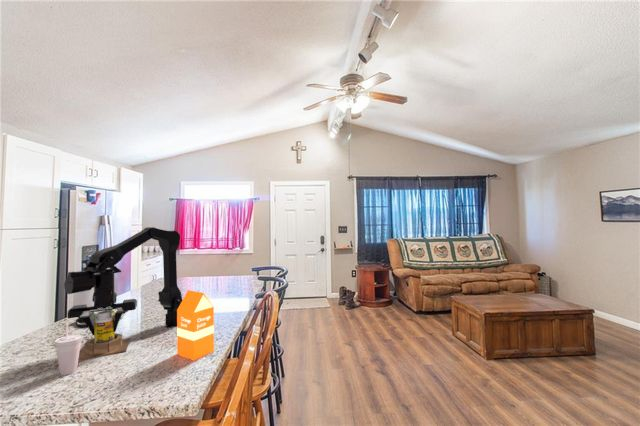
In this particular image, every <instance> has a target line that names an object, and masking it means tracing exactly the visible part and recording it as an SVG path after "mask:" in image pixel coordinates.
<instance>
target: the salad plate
mask: <svg viewBox="0 0 640 426" xmlns="http://www.w3.org/2000/svg"><path fill="white" fill-rule="evenodd" d="M105 311H111V316H113V317H114V320H115V313H116V311H117V309H113V310H105ZM128 312H129V311H126V313H128ZM123 318H124V314H122V316H121V318H120V320H121V319H123ZM95 319H97V313H94V321H95ZM75 324H76V326H77V327H78V328H89V327H88V326H87V324H86V323H85V322H84V321H83V319H79V317H77V318H76V320H75Z"/></svg>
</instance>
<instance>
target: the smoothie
mask: <svg viewBox="0 0 640 426" xmlns="http://www.w3.org/2000/svg"><path fill="white" fill-rule="evenodd" d="M83 340H84V338H83V335H82V334H80V333H79V334H78V333H77V334H69V322H66V323H65V336H62V337H59V338H57V339H55V340H54V342H53V343H54V344H53V345H54V346H55V350H56V356H57V361H58V362H57V363H58V370H59V374H60V376H67V375H71V374H73V373H75V372H77V370H78V364H79V360H78V359H79V352H80V350H81V347H82V346H81V345H82V341H83Z"/></svg>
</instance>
